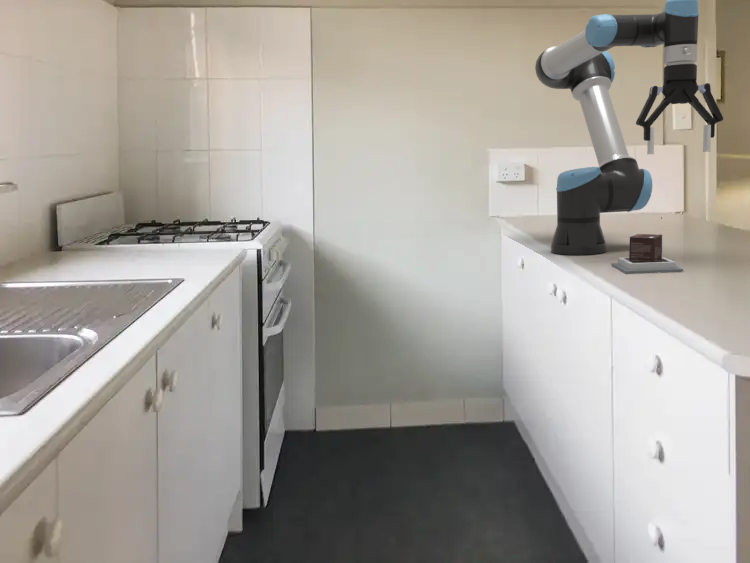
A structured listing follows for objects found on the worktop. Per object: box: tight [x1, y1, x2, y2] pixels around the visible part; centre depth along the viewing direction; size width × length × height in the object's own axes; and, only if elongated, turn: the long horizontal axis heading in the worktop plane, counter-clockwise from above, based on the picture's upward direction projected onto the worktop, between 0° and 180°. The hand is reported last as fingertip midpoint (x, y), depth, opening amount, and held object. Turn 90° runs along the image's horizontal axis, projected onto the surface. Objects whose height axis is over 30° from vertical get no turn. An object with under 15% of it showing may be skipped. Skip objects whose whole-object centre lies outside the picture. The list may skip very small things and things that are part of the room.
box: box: [628, 233, 663, 263], centre depth 182 cm, size 6×6×7 cm
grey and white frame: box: [611, 255, 684, 275], centre depth 182 cm, size 13×13×2 cm
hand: (678, 153), depth 189 cm, fingers open, 13 cm apart
